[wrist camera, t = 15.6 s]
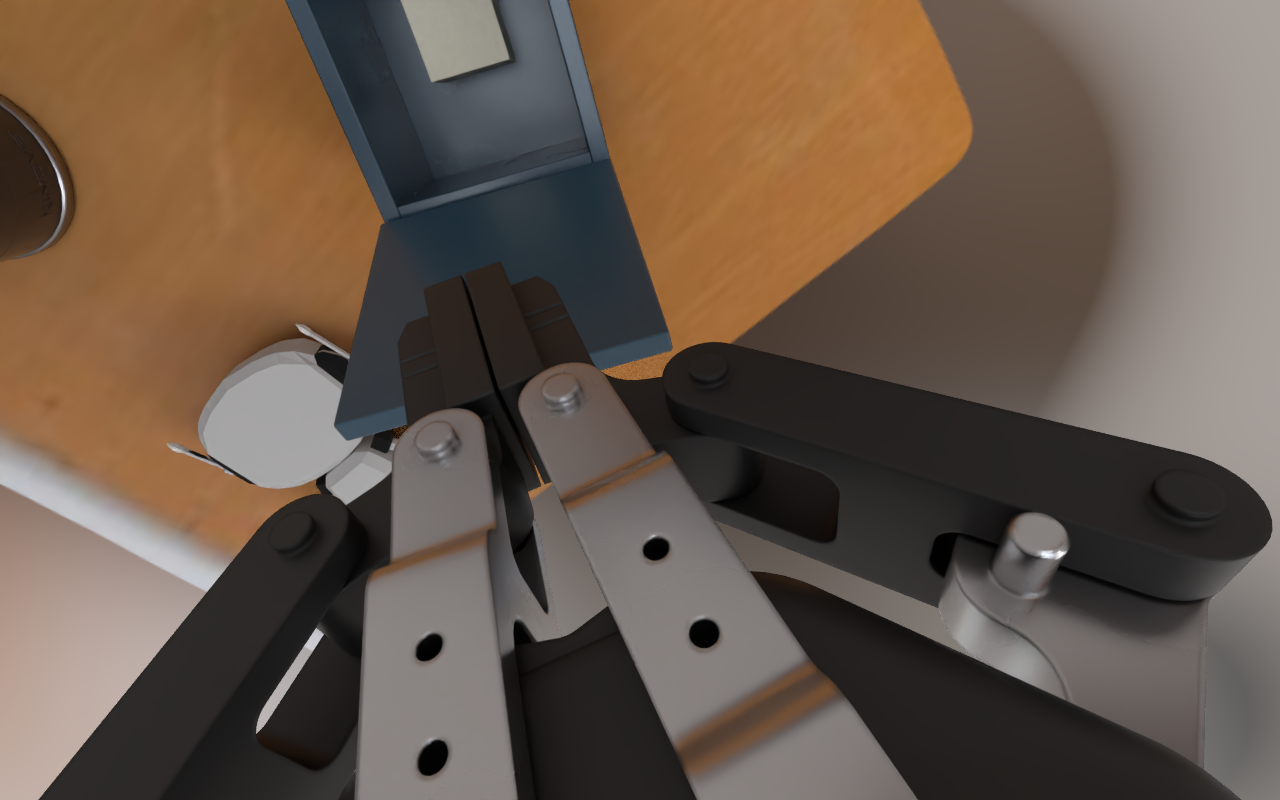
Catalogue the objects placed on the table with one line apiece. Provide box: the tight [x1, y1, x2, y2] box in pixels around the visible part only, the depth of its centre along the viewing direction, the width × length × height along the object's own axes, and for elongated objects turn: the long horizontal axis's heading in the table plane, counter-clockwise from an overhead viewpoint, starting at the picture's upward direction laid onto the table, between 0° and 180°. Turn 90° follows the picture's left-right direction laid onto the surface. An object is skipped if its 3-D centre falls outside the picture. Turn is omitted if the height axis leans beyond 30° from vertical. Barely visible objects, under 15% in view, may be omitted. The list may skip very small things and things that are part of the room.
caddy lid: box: [334, 159, 672, 441], centre depth 23 cm, size 12×11×1 cm
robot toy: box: [167, 324, 398, 505], centre depth 41 cm, size 12×4×15 cm
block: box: [401, 0, 516, 83], centre depth 31 cm, size 4×4×4 cm
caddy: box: [285, 0, 610, 223], centre depth 30 cm, size 12×11×10 cm
